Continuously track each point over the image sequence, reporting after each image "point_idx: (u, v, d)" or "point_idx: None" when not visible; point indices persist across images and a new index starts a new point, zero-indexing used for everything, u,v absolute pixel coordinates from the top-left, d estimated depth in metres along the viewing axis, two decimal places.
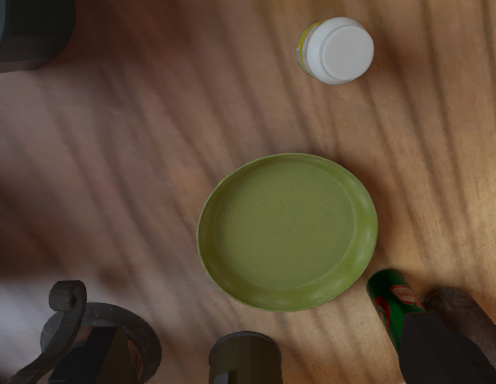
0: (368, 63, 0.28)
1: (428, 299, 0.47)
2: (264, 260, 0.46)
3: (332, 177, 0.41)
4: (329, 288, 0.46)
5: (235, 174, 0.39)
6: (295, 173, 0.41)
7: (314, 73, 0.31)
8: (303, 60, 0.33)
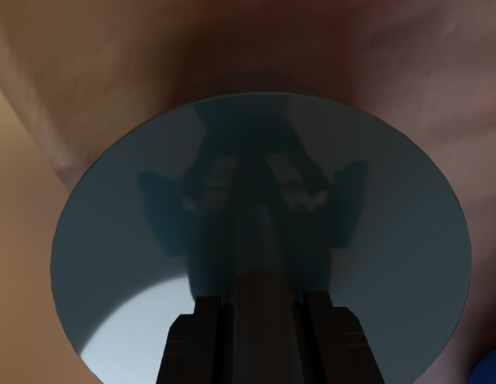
0: None
1: None
2: None
3: None
4: None
5: None
6: None
7: None
8: None
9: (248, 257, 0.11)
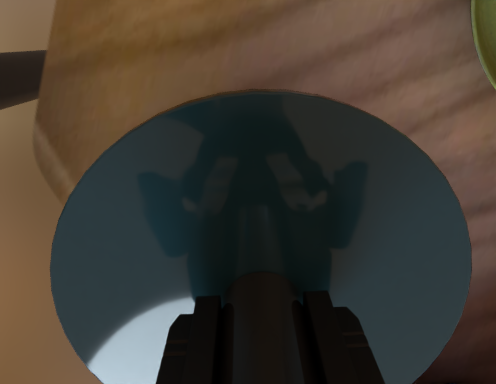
0: None
1: None
2: None
3: None
4: None
5: (485, 64, 0.26)
6: None
7: None
8: None
9: (248, 257, 0.11)
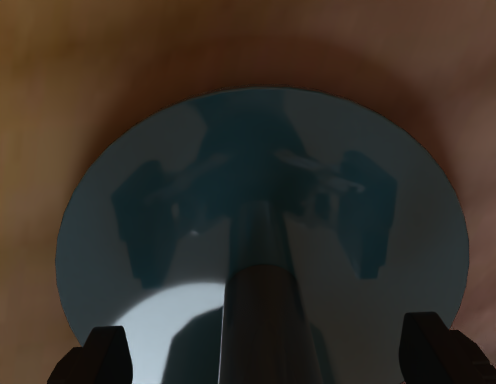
0: None
1: None
2: None
3: None
4: None
5: None
6: None
7: None
8: None
9: (250, 250, 0.12)
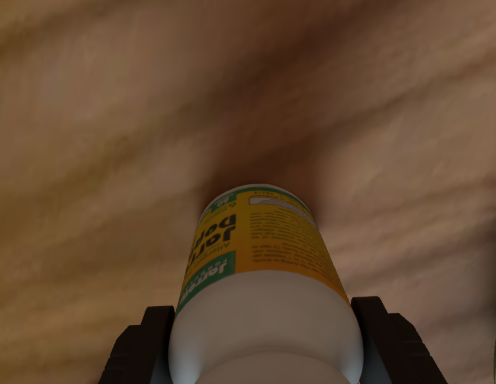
0: None
1: None
2: None
3: None
4: None
5: None
6: None
7: None
8: None
9: None
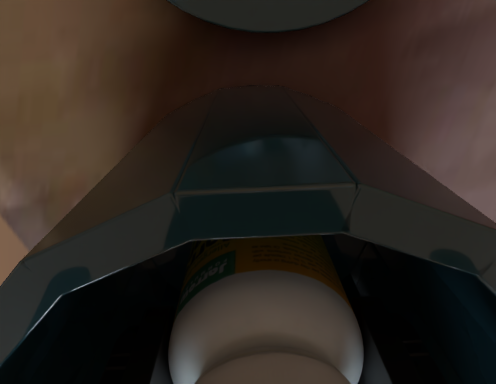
0: None
1: None
2: None
3: None
4: None
5: None
6: None
7: None
8: None
9: None
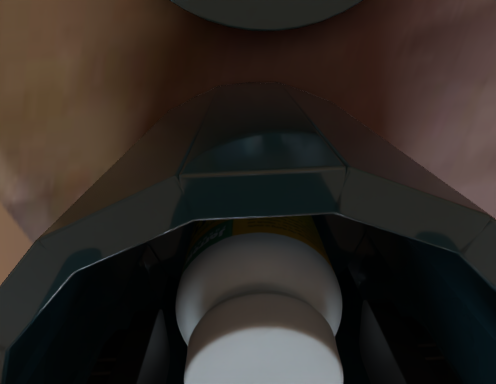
0: (296, 336, 0.08)
1: None
2: None
3: None
4: None
5: None
6: None
7: None
8: None
9: None
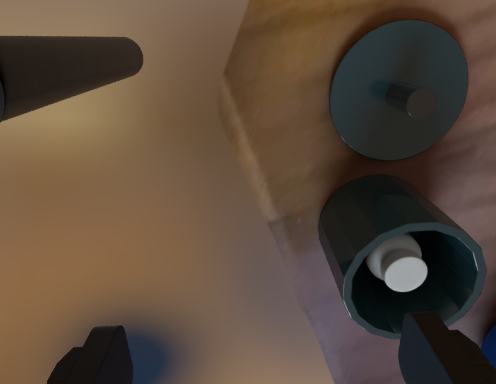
0: (416, 259, 0.33)
1: None
2: None
3: None
4: None
5: None
6: None
7: None
8: None
9: (397, 76, 0.36)
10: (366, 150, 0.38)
